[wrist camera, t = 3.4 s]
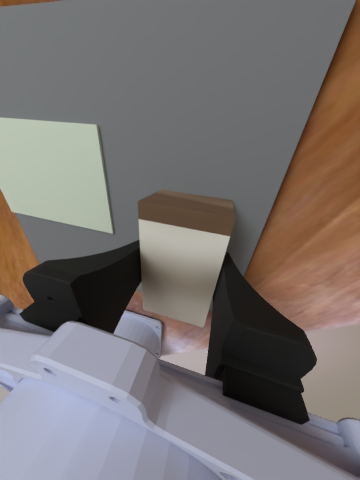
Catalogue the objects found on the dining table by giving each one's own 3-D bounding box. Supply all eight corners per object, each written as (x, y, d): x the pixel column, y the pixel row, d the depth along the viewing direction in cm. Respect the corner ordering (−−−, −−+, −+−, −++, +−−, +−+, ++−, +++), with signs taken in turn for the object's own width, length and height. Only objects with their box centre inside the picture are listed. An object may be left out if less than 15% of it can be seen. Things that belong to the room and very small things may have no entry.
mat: (227, 311, 16) (227, 316, 15) (43, 260, 20) (39, 263, 19) (354, -12, 6) (367, -28, 5) (-66, 21, 10) (-81, 14, 9)
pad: (98, 125, 10) (96, 124, 10) (114, 232, 14) (112, 233, 14) (-32, 115, 12) (-36, 114, 12) (14, 211, 16) (11, 211, 16)
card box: (207, 293, 14) (203, 328, 11) (158, 280, 15) (143, 309, 12) (231, 200, 10) (235, 217, 7) (161, 189, 11) (137, 201, 8)
